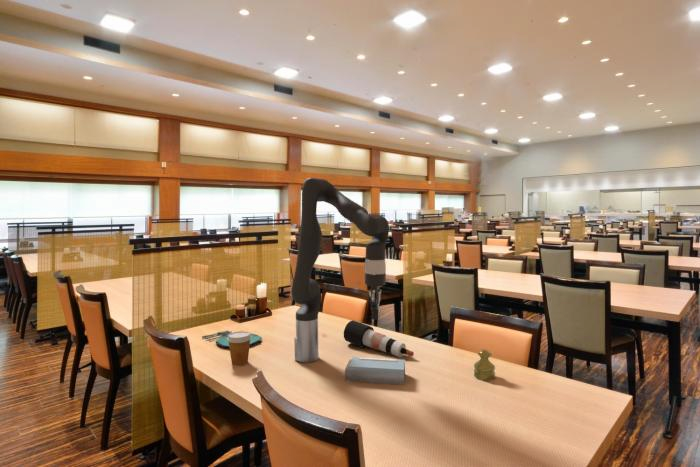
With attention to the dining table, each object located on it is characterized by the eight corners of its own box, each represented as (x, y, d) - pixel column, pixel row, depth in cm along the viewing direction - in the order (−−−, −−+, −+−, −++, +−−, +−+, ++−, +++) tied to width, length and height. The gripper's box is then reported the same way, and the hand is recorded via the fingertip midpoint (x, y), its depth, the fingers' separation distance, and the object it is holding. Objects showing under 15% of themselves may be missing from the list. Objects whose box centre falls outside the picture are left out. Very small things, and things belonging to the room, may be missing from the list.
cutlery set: (232, 354, 174) (232, 348, 174) (197, 340, 194) (197, 335, 194) (269, 342, 190) (268, 337, 189) (233, 330, 209) (232, 326, 209)
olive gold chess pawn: (494, 374, 149) (495, 348, 149) (495, 382, 142) (495, 354, 142) (474, 371, 152) (474, 346, 151) (473, 379, 145) (473, 352, 144)
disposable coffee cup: (256, 360, 165) (256, 332, 164) (241, 369, 156) (240, 339, 155) (238, 357, 169) (237, 329, 168) (222, 365, 160) (221, 336, 159)
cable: (408, 371, 164) (404, 353, 159) (346, 345, 185) (341, 329, 180) (420, 354, 170) (416, 337, 166) (359, 331, 191) (354, 316, 187)
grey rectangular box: (345, 380, 145) (345, 368, 144) (349, 370, 154) (349, 359, 154) (403, 384, 141) (403, 372, 141) (405, 374, 150) (405, 362, 150)
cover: (347, 369, 143) (347, 365, 143) (353, 359, 154) (353, 355, 154) (403, 373, 140) (403, 368, 140) (405, 362, 150) (405, 358, 150)
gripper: (367, 268, 151) (367, 313, 152) (362, 274, 138) (361, 323, 139) (387, 269, 149) (387, 314, 150) (383, 274, 136) (383, 324, 137)
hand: (375, 318), depth 145 cm, fingers closed
